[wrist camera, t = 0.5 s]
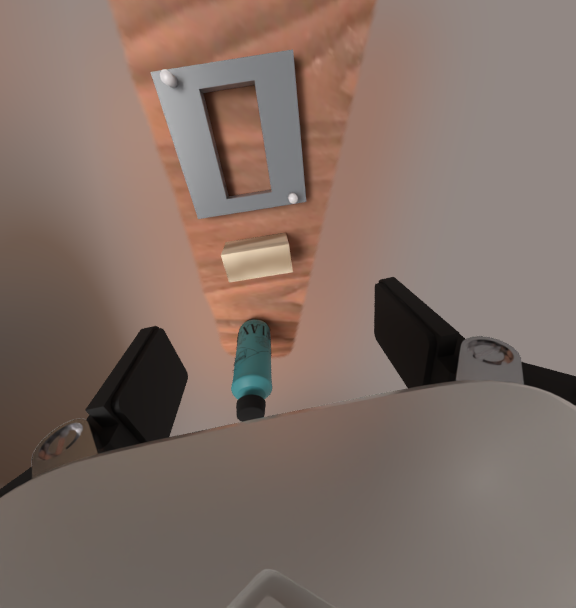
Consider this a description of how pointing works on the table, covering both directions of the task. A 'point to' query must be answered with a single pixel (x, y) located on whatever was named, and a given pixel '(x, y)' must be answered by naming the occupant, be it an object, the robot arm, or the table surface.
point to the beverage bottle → (252, 370)
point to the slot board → (200, 140)
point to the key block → (257, 257)
